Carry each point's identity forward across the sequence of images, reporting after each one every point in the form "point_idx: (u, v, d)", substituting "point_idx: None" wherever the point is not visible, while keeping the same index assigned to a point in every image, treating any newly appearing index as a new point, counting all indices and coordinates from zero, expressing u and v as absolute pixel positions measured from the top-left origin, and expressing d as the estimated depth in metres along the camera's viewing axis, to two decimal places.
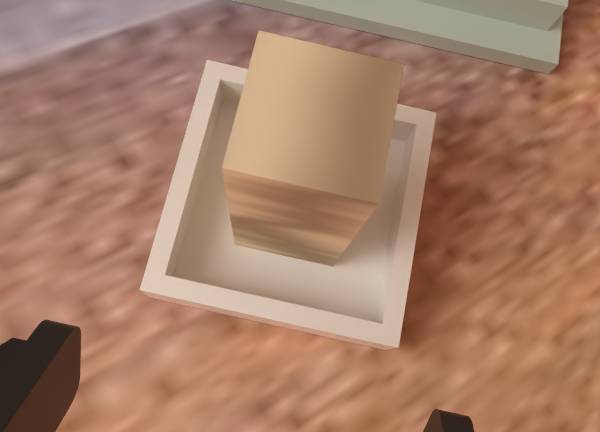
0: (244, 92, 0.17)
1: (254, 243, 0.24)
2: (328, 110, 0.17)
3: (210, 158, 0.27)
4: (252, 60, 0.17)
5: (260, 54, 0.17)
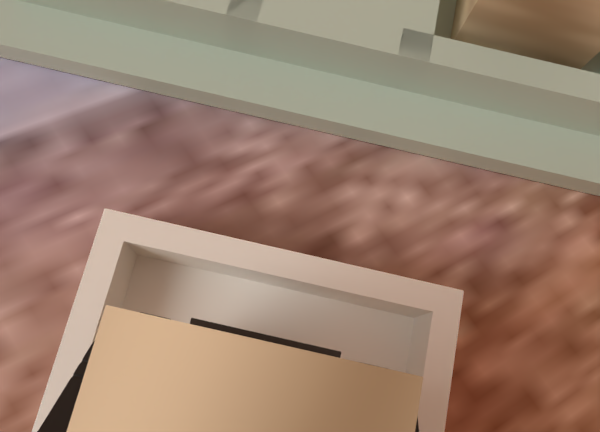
0: None
1: None
2: None
3: None
4: (86, 382, 0.08)
5: (104, 364, 0.08)
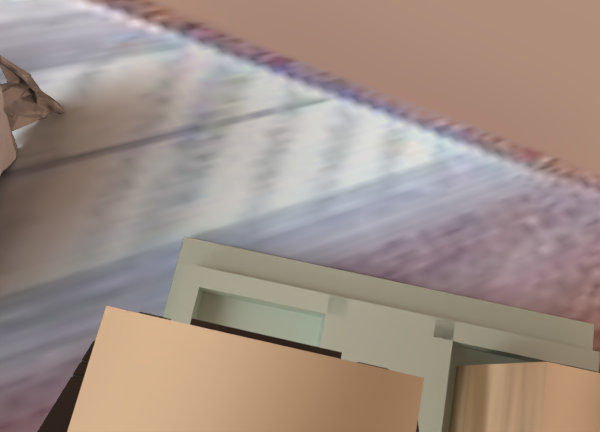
0: None
1: None
2: None
3: None
4: (86, 383, 0.08)
5: (105, 365, 0.08)
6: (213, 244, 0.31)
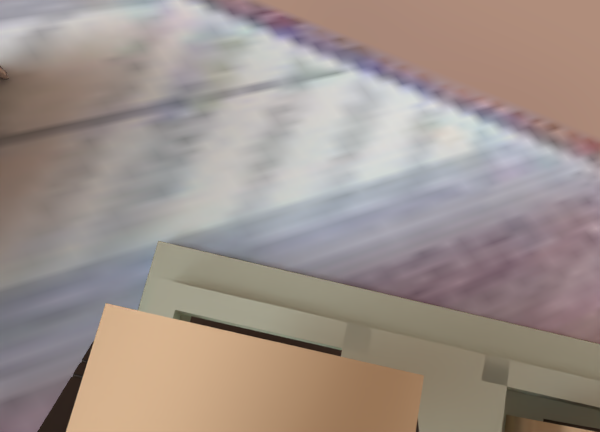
0: None
1: None
2: None
3: None
4: (86, 380, 0.08)
5: (104, 362, 0.08)
6: (196, 251, 0.24)
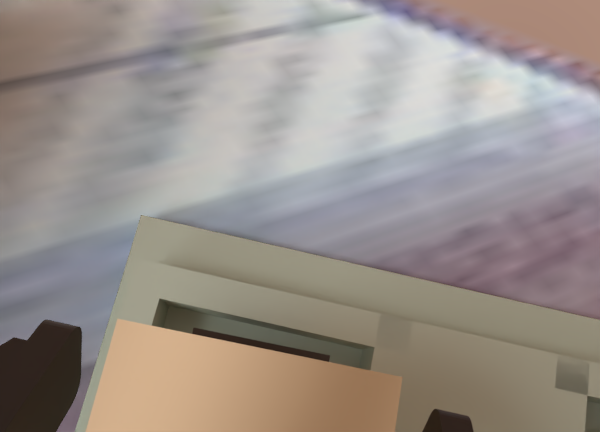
0: None
1: None
2: None
3: None
4: (101, 388, 0.09)
5: (117, 371, 0.09)
6: (188, 228, 0.19)
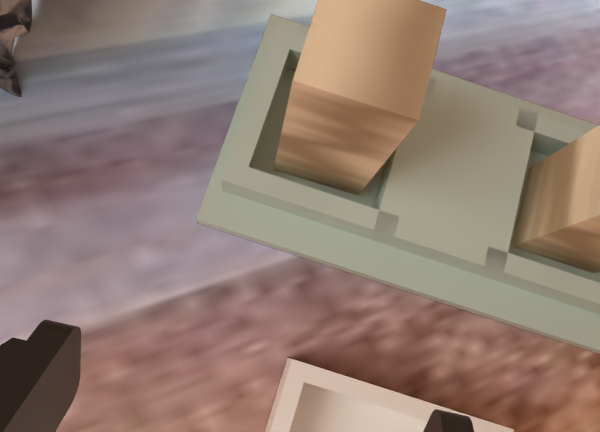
0: (313, 20, 0.20)
1: (292, 168, 0.28)
2: (382, 41, 0.20)
3: None
4: None
5: None
6: (299, 25, 0.31)
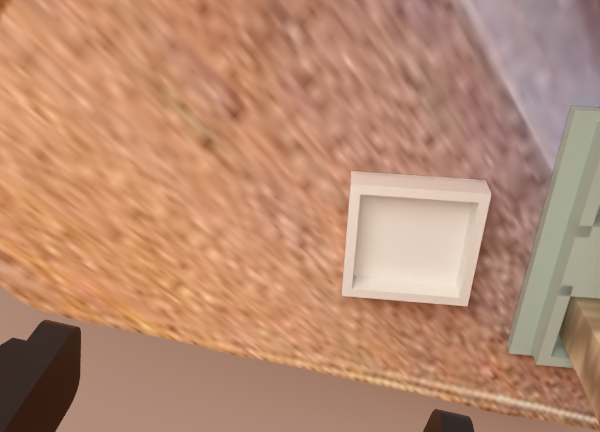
0: None
1: None
2: None
3: None
4: None
5: None
6: None
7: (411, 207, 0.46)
